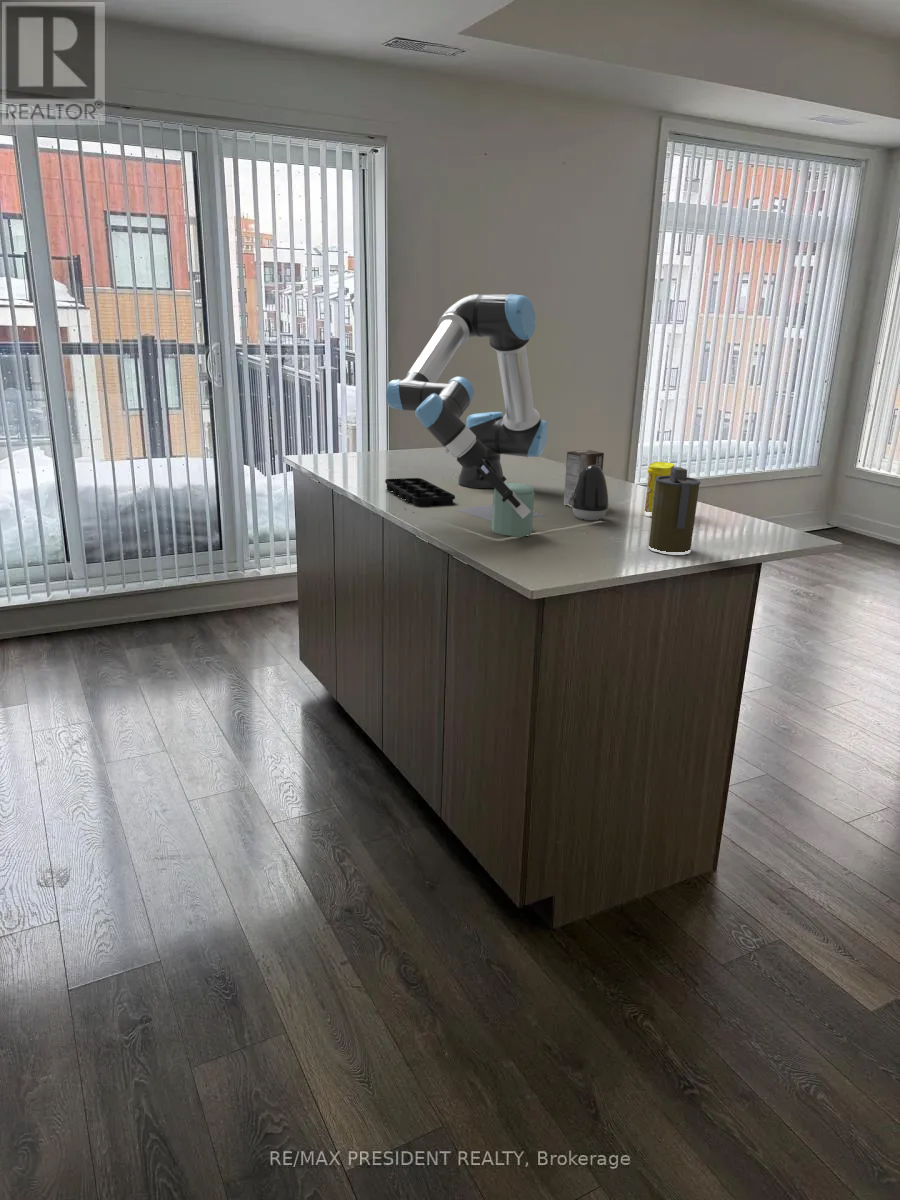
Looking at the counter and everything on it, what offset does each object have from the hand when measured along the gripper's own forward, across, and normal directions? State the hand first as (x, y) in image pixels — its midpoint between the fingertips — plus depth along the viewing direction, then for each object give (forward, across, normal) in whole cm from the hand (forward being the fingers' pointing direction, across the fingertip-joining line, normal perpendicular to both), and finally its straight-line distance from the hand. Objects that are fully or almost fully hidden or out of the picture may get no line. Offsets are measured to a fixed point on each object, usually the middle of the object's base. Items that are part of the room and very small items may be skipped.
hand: (522, 508), depth 213 cm
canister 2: (+29, +15, +20) cm, 38 cm away
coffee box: (+21, -33, +12) cm, 41 cm away
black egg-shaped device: (+20, -16, +11) cm, 28 cm away
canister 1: (+35, -24, +26) cm, 50 cm away
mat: (+3, -20, -6) cm, 21 cm away
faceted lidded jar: (+3, 0, -6) cm, 7 cm away
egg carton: (-12, -41, -22) cm, 49 cm away
